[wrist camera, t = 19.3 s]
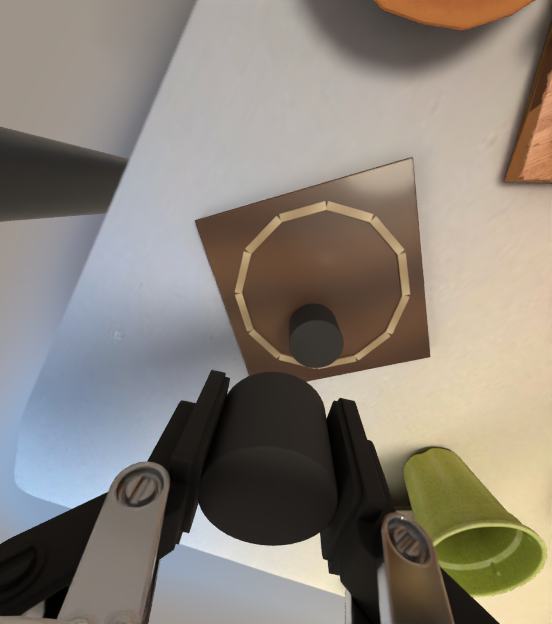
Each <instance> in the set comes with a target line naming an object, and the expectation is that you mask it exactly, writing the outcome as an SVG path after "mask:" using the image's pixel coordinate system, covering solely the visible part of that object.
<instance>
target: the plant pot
mask: <svg viewBox="0 0 552 624" xmlns="http://www.w3.org/2000/svg"><path fill="white" fill-rule="evenodd" d="M403 476H404V480H405V484H406V487H407V491H408V495H409V499H410V503H411V507H412V511H413V514H414V518H415V521H416V522H418V523H419V524H420V525H421V526H422V528H423V529H424V530H425V531H426V532H427V534H428V535H429V537H430V539H431V540H432V542H433V545H434V548H435V550H436V554H437V558H438V562H439V566H440V567H441V568H442V569H443V570H444V571H445V572H446V573H447V574H448V575H449V576H451V577H452V578H453V579H454V580H455V581H456V582H457V583H458V584H459V585H460V586H461V587H462V588H463V589H464V590H465V591H466V592H467V593H468V594H469V595H470V596H471V597H486V596H493V595H497V594H502V593H505V592H508V591H511V590H513V589H515V588H517V587H519V586H522V585H524V584H526V583H527V582H529V581H530V580H532V579H533V578H534V577H535V576H536V575H537V574H538V573H539V572H540V571H541V569H542V568H543V566H544V564H545V562H546V559H547V549H546V546H545V543H544V542H543V540H542V539H541V538H540V537H539V535H538V534H537V533H535V532H534V531H533V530H532V529H530V528H529V527H527V526H525V525H523V524H522V523H521V522H520V521H519V520H518V519H517V518H516V517H514V516H513V515H512V514H510V513H509V512H507V511H506V510H505V508H504V507H503V506H502V505H501V504H500V503H499V502H498V501H497V500H496V498H495V497H494V496H493V495H492V494H491V493H490V492H489V490H488V489H487V488H486V487H485V486H484V485H483V484H482V483H481V481H480V480H479V479H478V478H477V477H476V476H475V475H474V473H473V472H472V471H471V470H470V469H469V468H468V466H467V465H466V464H465V463H464V462H463V461H462V460H461V459H460V457H459V456H457V455H456V454H455V453H453V452H451V451H449V450H446V449H440V448H433V449H429V450H428V451H427V452H425V453H422V454H415V455H414V456H412V457H411V458H410V459H409V460H408V461H407V463H406V464H405V466H404V470H403Z"/></svg>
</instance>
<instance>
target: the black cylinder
mask: <svg viewBox="0 0 552 624" xmlns="http://www.w3.org/2000/svg"><path fill="white" fill-rule="evenodd" d="M197 498H198V502H199V505H200V508H201V510H202V512H203V513H204V515H205V516H206V517H207V519H208V520H209V521H210V522H211V523H212V524H213V525H214V526H215V527H217V528H218V529H219V530H221V531H222V532H224V533H226V534H227V535H229V536H231V537H234V538H236V539H239V540H241V541H245V542H248V543H253V544H258V545H269V546H277V545H288V544H293V543H297V542H301V541H304V540H307V539H309V538H311V537H313V536H315V535H317V534H318V533H320V532H321V531H322V530H324V529H325V528H326V527H327V526H328V525H329V524H330V523H331V521H332V520H333V518H334V516H335V514H336V511H337V508H338V504H339V493H338V487H337V481H336V475H335V469H334V463H333V456H332V450H331V444H330V438H329V432H328V426H327V420H326V414H325V408H324V404H323V401H322V399H321V397H320V396H319V394H318V393H317V391H316V390H315V389H314V388H313V387H312V386H311V385H309V384H308V383H307V382H305V381H304V380H302V379H300V378H298V377H296V376H293V375H290V374H287V373H282V372H262V373H257V374H254V375H251V376H248V377H246V378H245V379H243V380H241V381H240V382H238V383H237V384H236V385H235V386H234V387H233V388H232V389H231V390H230V391H229V393H228V395H227V397H226V400H225V403H224V407H223V410H222V413H221V416H220V419H219V422H218V425H217V428H216V431H215V434H214V438H213V441H212V444H211V447H210V450H209V453H208V456H207V459H206V462H205V466H204V469H203V472H202V475H201V480H200V486H199V491H198V497H197Z"/></svg>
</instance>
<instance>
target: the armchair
mask: <svg viewBox="0 0 552 624" xmlns="http://www.w3.org/2000/svg"><path fill="white" fill-rule="evenodd" d="M505 181H509V182H539V183H552V22H551V25H550V29H549V32H548V35H547V39H546V42H545V45H544V49H543V52H542V56H541V59H540V62H539V66H538V69H537V72H536V76H535V79H534V83H533V86H532V89H531V93H530V96H529V100H528V103H527V106H526V110H525V113H524V116H523V120H522V123H521V127H520V130H519V133H518V137H517V140H516V143H515V147H514V150H513V154H512V157H511V160H510V164H509V167H508V170H507V174H506V177H505Z"/></svg>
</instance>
